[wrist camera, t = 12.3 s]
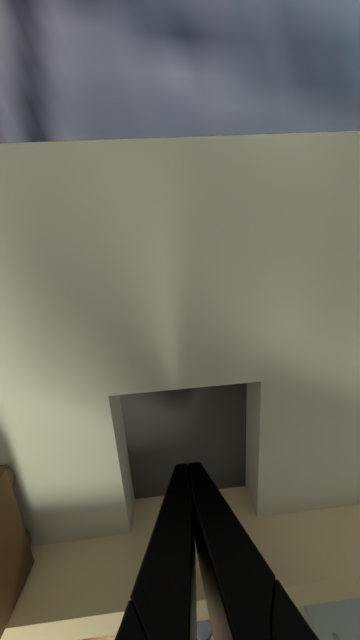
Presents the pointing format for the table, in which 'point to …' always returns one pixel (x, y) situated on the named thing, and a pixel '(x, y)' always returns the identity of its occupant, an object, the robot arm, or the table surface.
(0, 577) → the walnut block
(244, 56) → the table surface
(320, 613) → the tea box
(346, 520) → the trap tray
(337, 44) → the table surface
